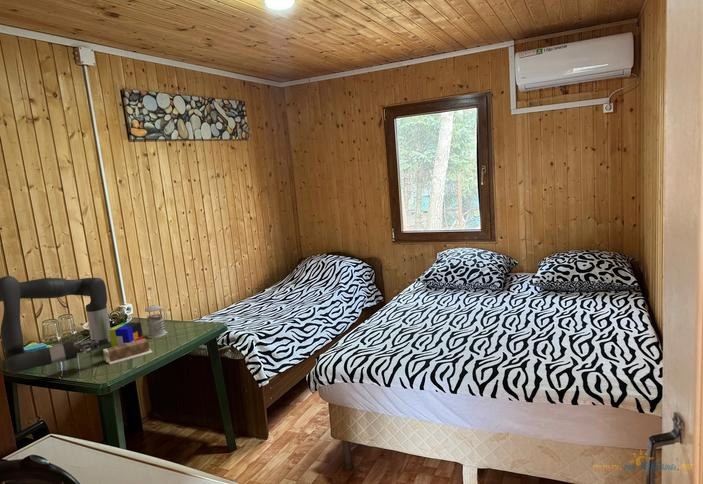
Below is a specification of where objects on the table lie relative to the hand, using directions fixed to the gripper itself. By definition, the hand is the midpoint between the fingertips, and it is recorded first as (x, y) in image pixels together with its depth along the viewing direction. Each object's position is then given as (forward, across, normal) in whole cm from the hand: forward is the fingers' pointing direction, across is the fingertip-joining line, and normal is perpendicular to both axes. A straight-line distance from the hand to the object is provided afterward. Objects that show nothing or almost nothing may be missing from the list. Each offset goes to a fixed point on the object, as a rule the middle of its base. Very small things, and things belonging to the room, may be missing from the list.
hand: (107, 340), depth 214 cm
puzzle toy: (+10, +15, +9) cm, 21 cm away
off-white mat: (+8, 0, +9) cm, 12 cm away
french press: (+26, +22, +9) cm, 35 cm away
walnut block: (-2, 0, +6) cm, 7 cm away
